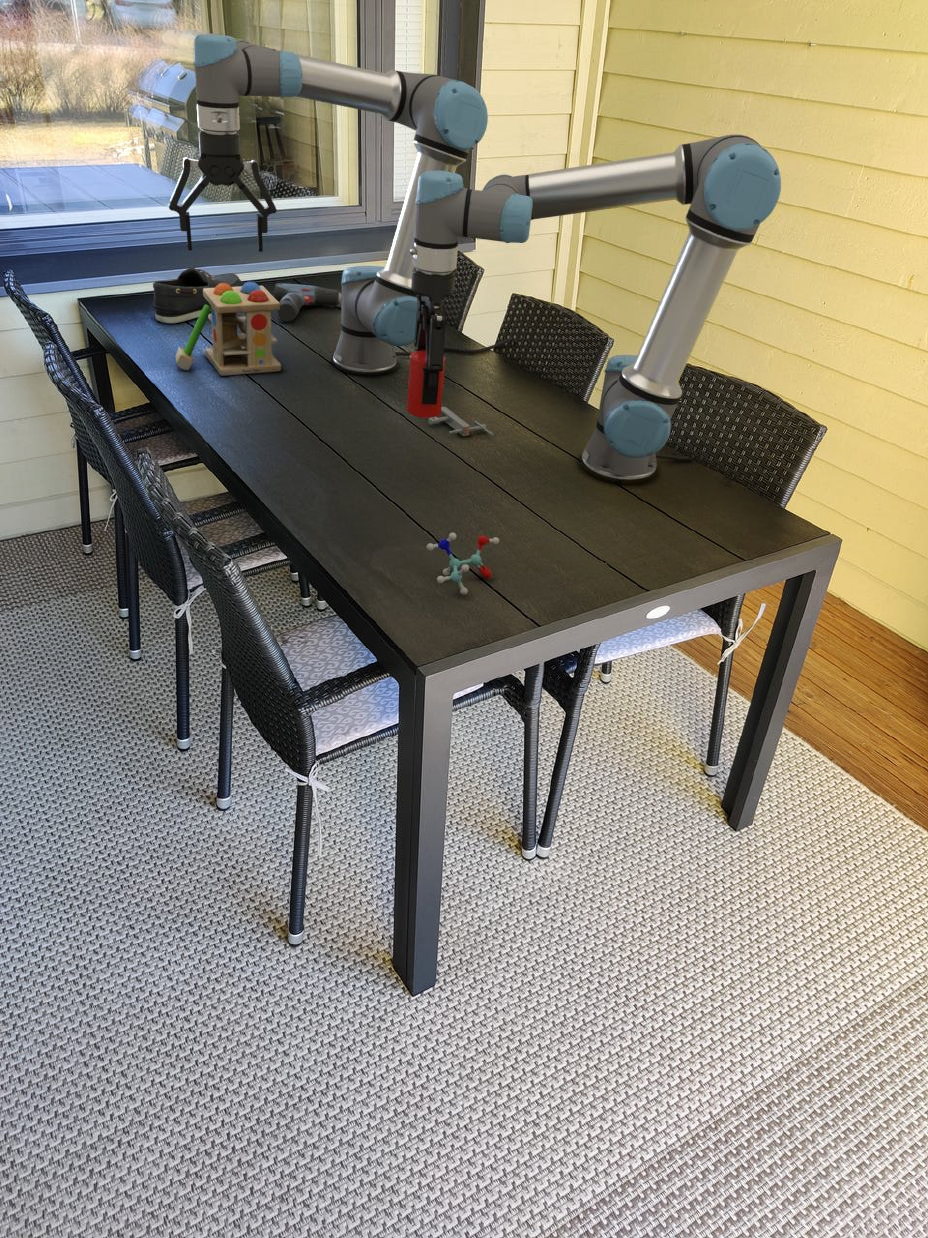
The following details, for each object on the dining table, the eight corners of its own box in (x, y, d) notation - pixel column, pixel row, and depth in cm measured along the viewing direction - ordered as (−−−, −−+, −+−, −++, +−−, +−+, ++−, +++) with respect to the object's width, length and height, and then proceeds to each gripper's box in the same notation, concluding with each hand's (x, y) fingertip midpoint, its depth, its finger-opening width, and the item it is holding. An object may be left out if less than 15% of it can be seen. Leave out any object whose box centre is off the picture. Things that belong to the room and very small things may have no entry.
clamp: (420, 409, 212) (460, 403, 217) (420, 418, 213) (460, 412, 218) (454, 436, 202) (496, 430, 206) (454, 446, 203) (495, 439, 208)
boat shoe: (261, 302, 273) (259, 263, 267) (172, 325, 249) (168, 283, 243) (227, 293, 278) (225, 255, 273) (137, 316, 254) (132, 274, 249)
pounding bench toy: (183, 379, 220) (176, 299, 210) (169, 357, 231) (162, 280, 221) (282, 371, 230) (280, 294, 220) (264, 350, 240) (262, 276, 230)
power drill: (335, 306, 256) (344, 285, 273) (264, 300, 255) (277, 279, 272) (335, 327, 259) (344, 304, 276) (264, 320, 258) (277, 299, 275)
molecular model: (490, 589, 152) (470, 528, 150) (436, 605, 155) (416, 545, 154) (511, 574, 162) (492, 517, 161) (460, 589, 166) (441, 533, 164)
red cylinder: (416, 401, 187) (419, 347, 181) (446, 409, 185) (451, 355, 180) (401, 412, 182) (404, 357, 177) (432, 420, 181) (436, 365, 175)
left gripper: (149, 131, 176) (159, 252, 188) (289, 137, 183) (290, 255, 195) (149, 124, 182) (159, 242, 194) (284, 130, 189) (286, 245, 200)
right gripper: (402, 253, 176) (396, 376, 189) (424, 285, 161) (415, 417, 174) (443, 254, 178) (434, 376, 191) (468, 286, 163) (456, 416, 176)
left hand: (225, 249), depth 194 cm, fingers open, 13 cm apart
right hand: (425, 395), depth 182 cm, fingers closed on red cylinder, 6 cm apart
